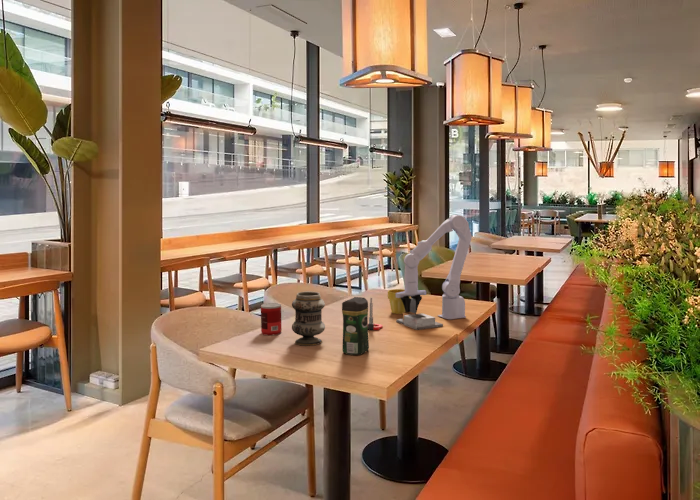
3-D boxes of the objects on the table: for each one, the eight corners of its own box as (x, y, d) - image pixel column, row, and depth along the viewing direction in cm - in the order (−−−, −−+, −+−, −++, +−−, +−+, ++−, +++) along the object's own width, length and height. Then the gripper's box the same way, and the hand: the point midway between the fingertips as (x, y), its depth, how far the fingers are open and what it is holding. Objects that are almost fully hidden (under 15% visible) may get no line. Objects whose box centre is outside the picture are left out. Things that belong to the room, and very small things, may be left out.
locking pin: (411, 316, 248) (412, 298, 247) (415, 317, 245) (416, 299, 245) (406, 317, 247) (406, 298, 246) (410, 318, 244) (410, 300, 243)
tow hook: (363, 326, 233) (360, 330, 224) (363, 294, 232) (360, 297, 223) (383, 326, 232) (381, 331, 223) (383, 295, 231) (381, 298, 222)
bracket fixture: (420, 318, 243) (420, 309, 243) (442, 326, 229) (443, 316, 229) (395, 321, 238) (395, 312, 237) (417, 330, 224) (417, 320, 223)
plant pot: (411, 315, 251) (411, 293, 250) (388, 315, 251) (388, 293, 250) (409, 310, 261) (409, 289, 260) (387, 310, 261) (387, 289, 260)
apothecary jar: (312, 348, 198) (311, 297, 196) (285, 343, 205) (284, 294, 203) (331, 340, 208) (331, 292, 207) (305, 336, 215) (304, 289, 213)
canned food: (284, 331, 223) (284, 303, 222) (275, 336, 216) (275, 307, 215) (267, 329, 226) (266, 302, 225) (257, 334, 218) (257, 306, 217)
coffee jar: (351, 347, 200) (350, 294, 198) (371, 349, 197) (371, 296, 195) (338, 354, 191) (338, 299, 189) (360, 357, 188) (359, 301, 186)
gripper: (419, 279, 251) (419, 309, 253) (391, 281, 245) (391, 312, 246) (429, 281, 245) (429, 312, 246) (400, 284, 238) (400, 315, 240)
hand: (411, 312), depth 246 cm, fingers closed on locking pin, 3 cm apart
